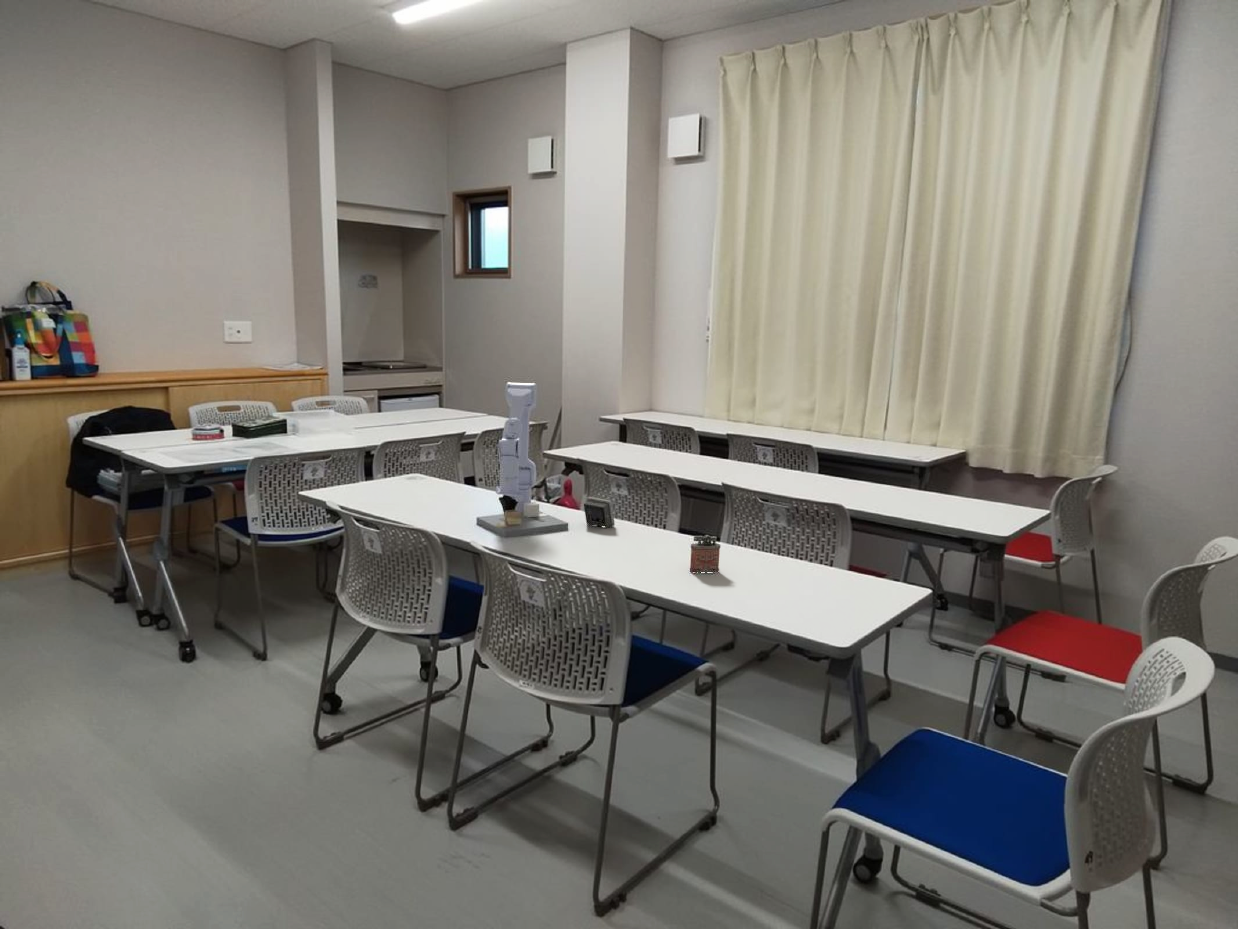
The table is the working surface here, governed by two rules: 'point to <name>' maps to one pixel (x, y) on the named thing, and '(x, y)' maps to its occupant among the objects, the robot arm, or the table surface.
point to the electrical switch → (599, 512)
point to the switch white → (531, 509)
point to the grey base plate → (522, 525)
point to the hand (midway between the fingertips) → (508, 519)
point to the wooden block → (512, 517)
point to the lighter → (705, 555)
